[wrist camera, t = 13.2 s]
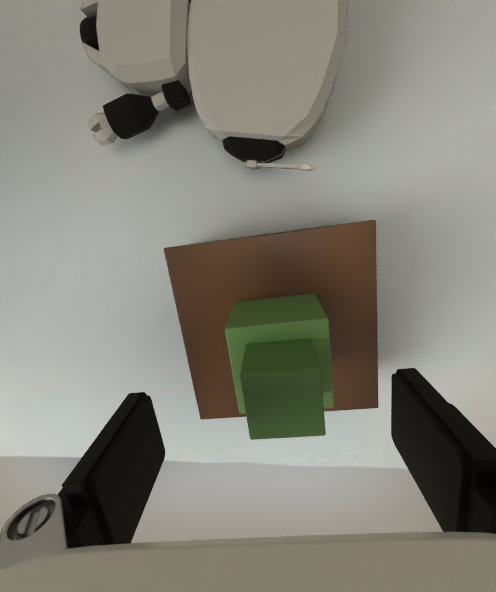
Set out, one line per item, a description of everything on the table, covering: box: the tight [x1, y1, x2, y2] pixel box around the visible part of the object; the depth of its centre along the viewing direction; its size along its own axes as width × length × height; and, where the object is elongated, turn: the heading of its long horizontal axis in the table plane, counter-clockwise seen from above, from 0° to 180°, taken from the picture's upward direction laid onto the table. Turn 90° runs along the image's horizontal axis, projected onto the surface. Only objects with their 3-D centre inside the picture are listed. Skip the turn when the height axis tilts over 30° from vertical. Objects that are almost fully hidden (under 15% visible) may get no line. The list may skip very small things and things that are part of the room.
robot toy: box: [80, 0, 348, 171], centre depth 16 cm, size 12×4×15 cm
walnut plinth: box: [164, 220, 378, 419], centre depth 21 cm, size 13×13×4 cm
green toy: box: [225, 293, 334, 439], centre depth 15 cm, size 5×5×7 cm
